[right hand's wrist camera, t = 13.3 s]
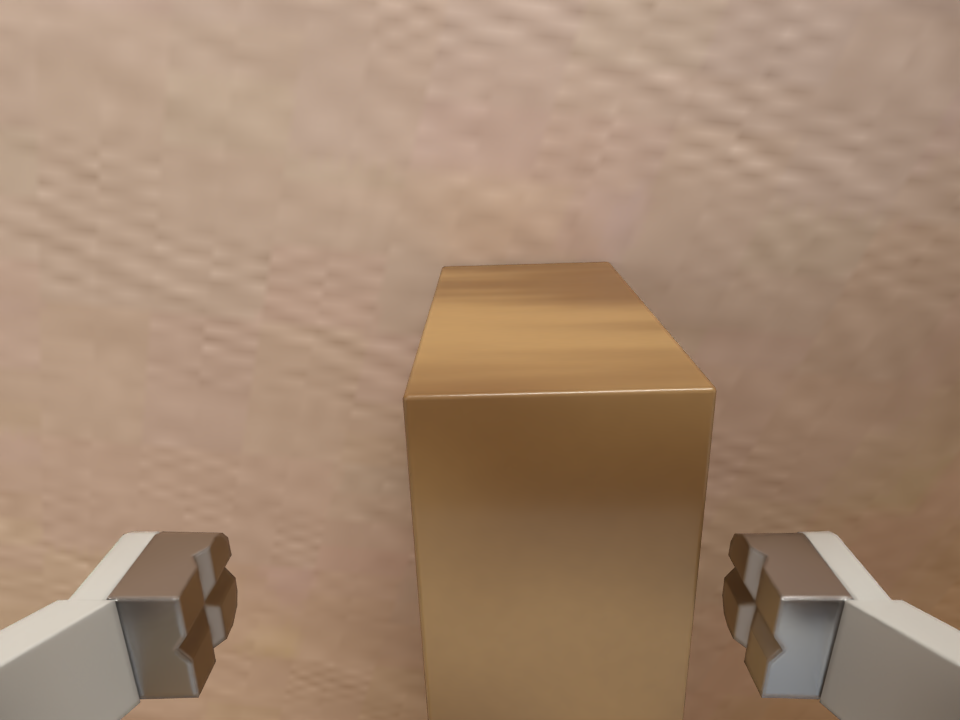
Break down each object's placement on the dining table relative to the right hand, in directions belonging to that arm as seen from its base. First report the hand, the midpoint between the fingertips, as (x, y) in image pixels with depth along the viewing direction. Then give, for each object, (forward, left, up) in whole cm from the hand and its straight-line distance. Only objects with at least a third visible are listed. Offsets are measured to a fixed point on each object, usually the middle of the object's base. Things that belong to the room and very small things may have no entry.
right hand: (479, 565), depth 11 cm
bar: (-1, +10, -9) cm, 13 cm away
